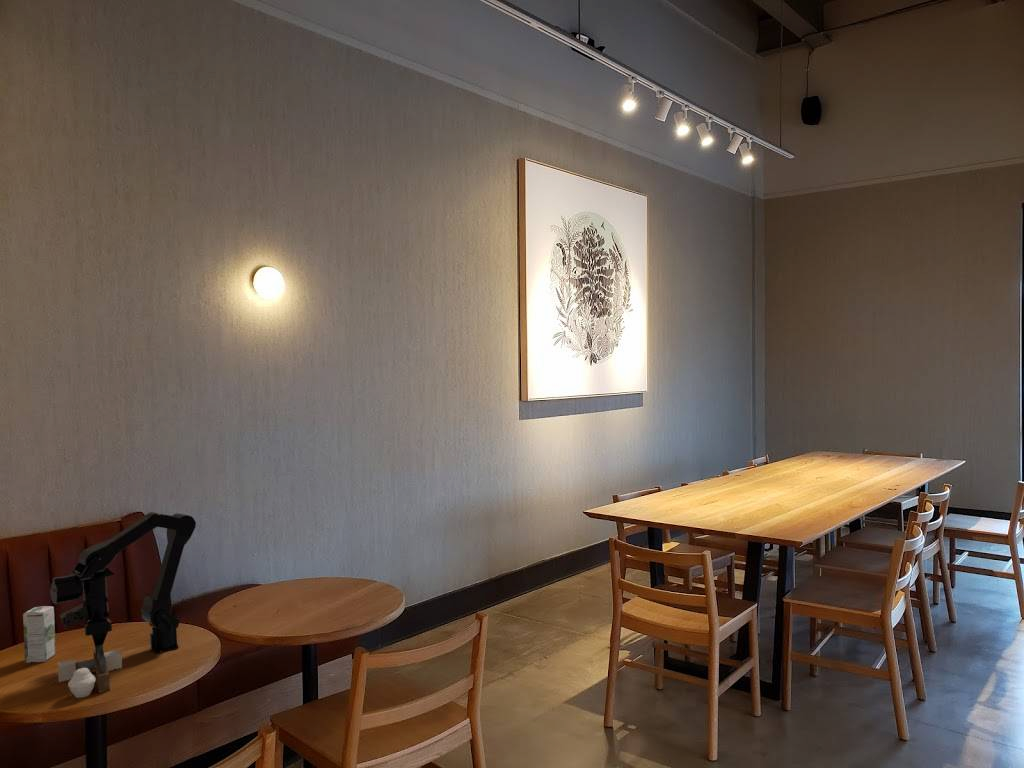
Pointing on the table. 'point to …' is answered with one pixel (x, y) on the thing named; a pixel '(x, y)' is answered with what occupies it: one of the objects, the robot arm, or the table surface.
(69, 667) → the square-ended dumbbell
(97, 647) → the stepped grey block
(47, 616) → the syrup box
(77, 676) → the muffin
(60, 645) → the table surface
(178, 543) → the robot arm
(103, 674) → the dark brown block
